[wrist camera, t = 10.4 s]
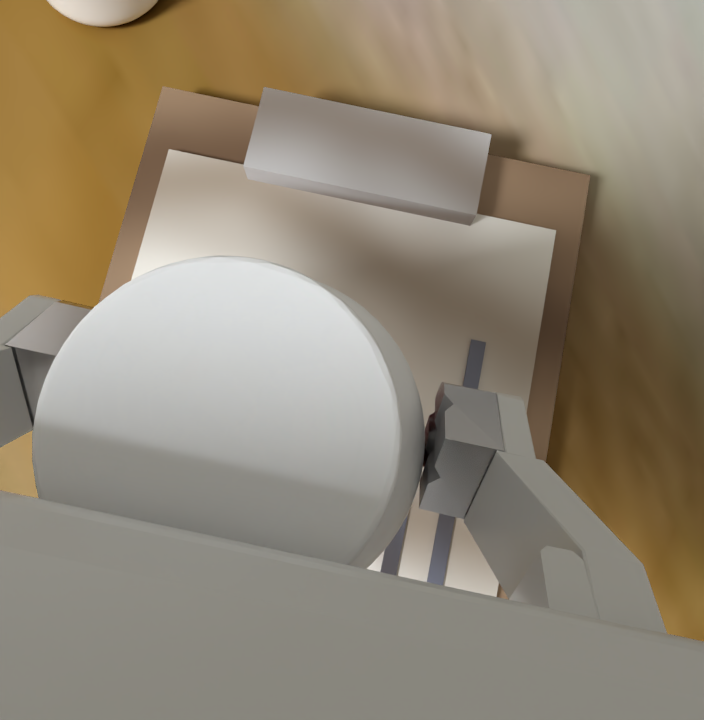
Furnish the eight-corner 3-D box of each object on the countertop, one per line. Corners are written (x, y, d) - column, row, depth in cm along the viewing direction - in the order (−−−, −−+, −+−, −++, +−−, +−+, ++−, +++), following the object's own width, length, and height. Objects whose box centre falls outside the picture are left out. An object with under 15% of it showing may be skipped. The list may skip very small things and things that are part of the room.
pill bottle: (381, 339, 18) (446, 184, 7) (397, 527, 17) (498, 676, 6) (196, 351, 18) (-25, 211, 7) (202, 543, 17) (-43, 725, 6)
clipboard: (477, 814, 17) (498, 873, 15) (-2, 706, 18) (-56, 747, 15) (576, 190, 21) (606, 158, 18) (172, 106, 21) (151, 63, 19)
